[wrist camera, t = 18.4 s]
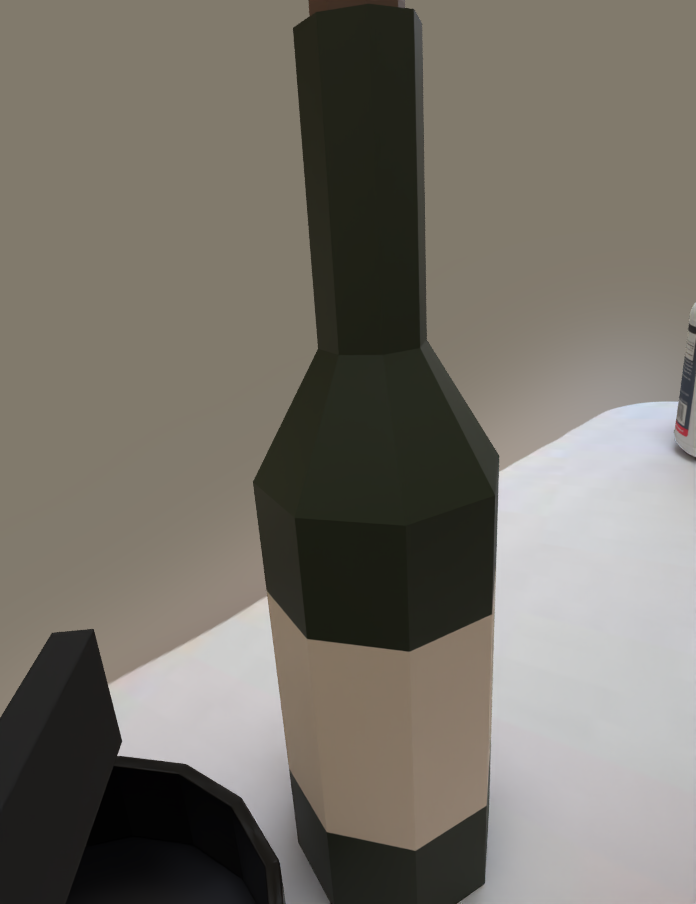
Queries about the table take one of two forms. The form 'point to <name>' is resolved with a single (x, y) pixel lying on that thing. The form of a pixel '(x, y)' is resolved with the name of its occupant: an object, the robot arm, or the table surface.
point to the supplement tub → (688, 394)
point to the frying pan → (174, 842)
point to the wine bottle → (378, 502)
